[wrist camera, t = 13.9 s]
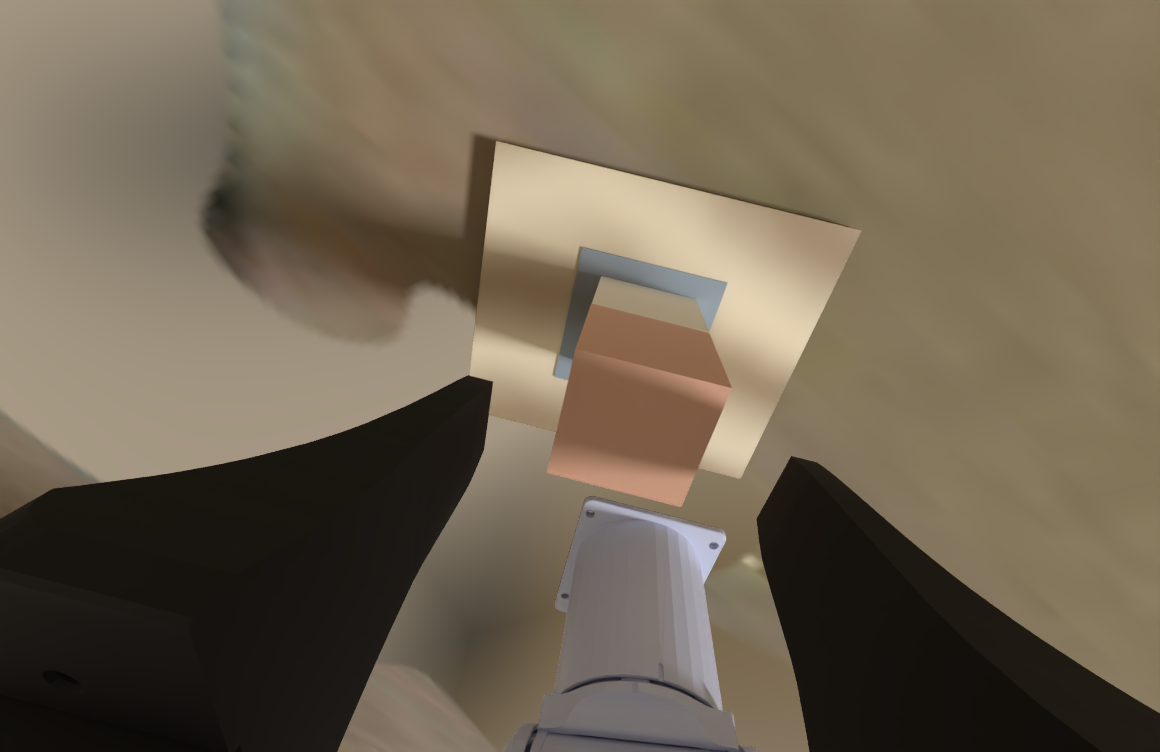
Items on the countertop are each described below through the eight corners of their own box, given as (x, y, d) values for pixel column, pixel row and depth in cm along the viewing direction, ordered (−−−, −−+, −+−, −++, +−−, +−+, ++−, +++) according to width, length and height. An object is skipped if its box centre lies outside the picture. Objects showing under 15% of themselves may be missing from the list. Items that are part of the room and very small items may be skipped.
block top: (672, 431, 16) (681, 507, 13) (567, 405, 16) (546, 472, 13) (709, 332, 15) (731, 388, 11) (591, 303, 15) (575, 348, 11)
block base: (666, 383, 20) (672, 431, 16) (580, 362, 20) (567, 405, 16) (695, 299, 18) (709, 332, 14) (601, 276, 18) (591, 303, 15)
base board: (736, 466, 23) (740, 480, 22) (472, 399, 23) (464, 409, 22) (850, 227, 17) (863, 230, 16) (503, 142, 17) (495, 140, 16)
